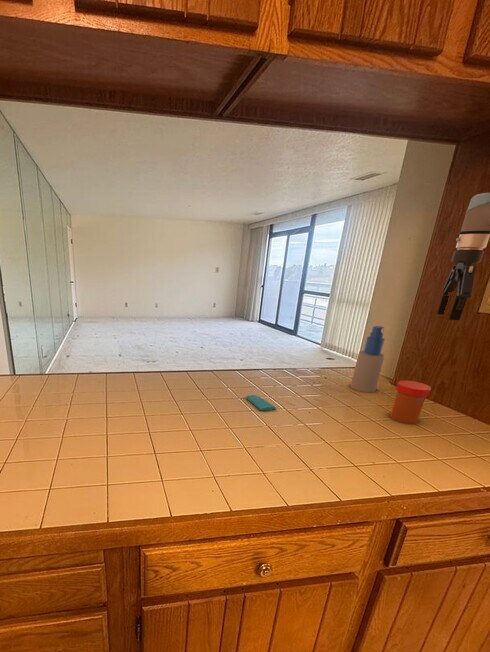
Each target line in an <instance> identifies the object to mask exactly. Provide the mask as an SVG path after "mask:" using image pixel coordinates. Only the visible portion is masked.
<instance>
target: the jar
mask: <svg viewBox="0 0 490 652" xmlns="http://www.w3.org/2000/svg"><path fill="white" fill-rule="evenodd" d="M426 398H427V396H425V397H419V396H412V395H407V394H404V393H401V392H399V391H397V390H396V395H395V398H394V402H393V405H392V408H391V411H390V415H389V417H390V419H393V420H394V421H396V422H400V423H403V424H413V425H415V424H417V423H418V421H419V419H420V415H421V412H422V410H423V406H424V403H425V400H426Z"/></svg>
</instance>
